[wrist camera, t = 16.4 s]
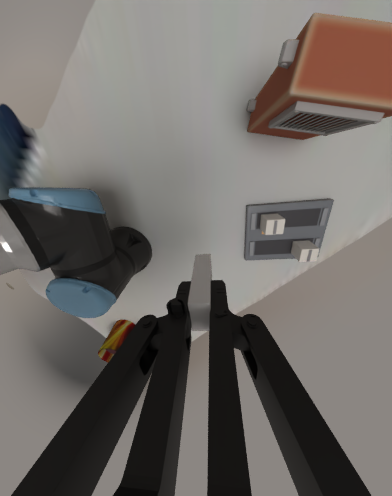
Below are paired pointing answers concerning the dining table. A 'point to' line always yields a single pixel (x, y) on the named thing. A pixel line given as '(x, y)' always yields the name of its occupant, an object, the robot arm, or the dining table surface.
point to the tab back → (304, 251)
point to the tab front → (272, 224)
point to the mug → (115, 339)
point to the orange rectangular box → (327, 80)
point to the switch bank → (285, 227)
